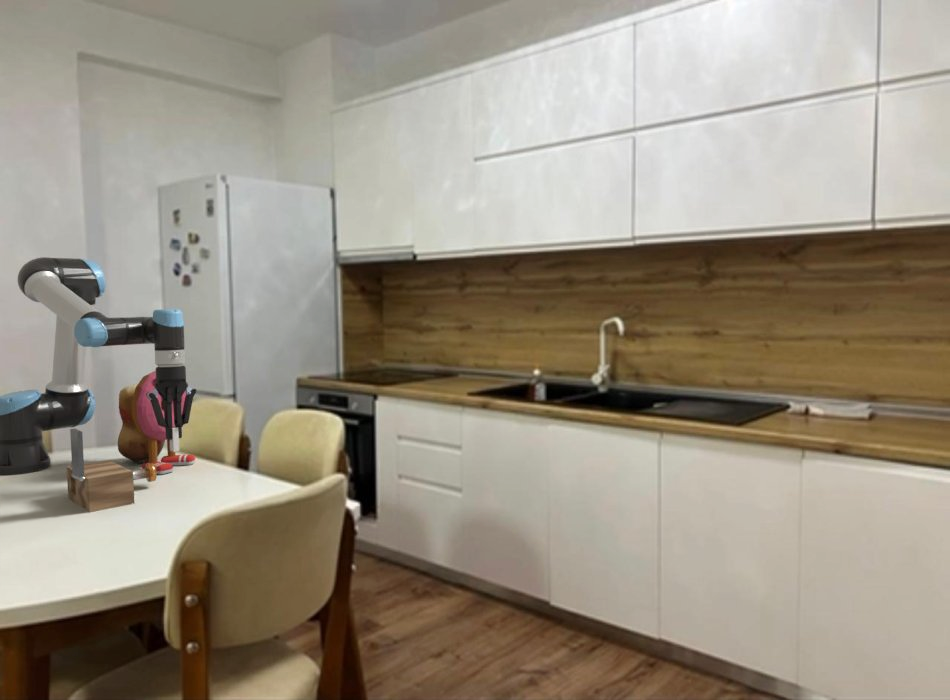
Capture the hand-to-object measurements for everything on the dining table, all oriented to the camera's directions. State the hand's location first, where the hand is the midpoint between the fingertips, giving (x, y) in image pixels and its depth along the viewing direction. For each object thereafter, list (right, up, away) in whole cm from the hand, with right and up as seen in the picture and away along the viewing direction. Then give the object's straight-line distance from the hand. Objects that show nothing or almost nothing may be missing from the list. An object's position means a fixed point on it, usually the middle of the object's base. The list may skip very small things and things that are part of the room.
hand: (174, 450), depth 187 cm
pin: (-10, -8, -9) cm, 15 cm away
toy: (-10, -8, +18) cm, 22 cm away
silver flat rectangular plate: (-12, -3, -24) cm, 28 cm away
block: (-12, -10, -16) cm, 22 cm away
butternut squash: (-21, -8, +26) cm, 35 cm away
